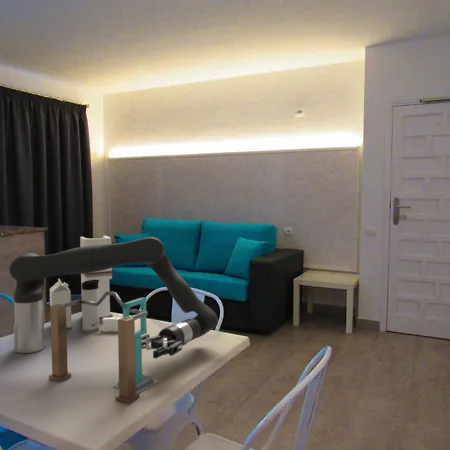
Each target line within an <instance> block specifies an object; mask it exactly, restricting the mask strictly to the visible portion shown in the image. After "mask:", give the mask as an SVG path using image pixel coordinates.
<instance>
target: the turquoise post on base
mask: <svg viewBox="0 0 450 450" xmlns="http://www.w3.org/2000/svg"><path fill="white" fill-rule="evenodd" d="M123 303H124V304H123V308H122V318H123V317H130V312H129V308H130V309H131V308H133V307H134V306H138V305H139V307H140V308H139V310H141V311H147V297H145V296H144V297H143V296H142V297H139V298H136V299H133V300H129V301H128V302H123ZM139 319H140V329H138V330H135V382H136V390H137V391H138V390H140V389H141V388H143V387H145V386H146V385H148V384H150V383H151V382H153V381H154V380H155V379H154V377H152V376H148V375H143V363H142V362H143V357H142V356H143V355H142V354H143V353H142V351H143V349H142V340H141V337H142V336H144V335H147V332H148V331H147V328H148V327H147V316H144V317H142V318H139ZM117 383H118V385H119V381H118V382H117Z"/></svg>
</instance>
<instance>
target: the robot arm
mask: <svg viewBox="0 0 450 450" xmlns="http://www.w3.org/2000/svg"><path fill="white" fill-rule="evenodd" d="M136 263H137V264H139V263H141V264H142V263H145V264H146V265H147V266H148V267H150V269H151V270H153V272H154V273H155V274H156V275H157V276H158V278H159V279H160V280H161V281H162V283H163V284H164V286H165V287H166V290H167V291H168V292H169V294H170V296H171V297H172V298H173V300H174V301H175V303H176V304H177V306H178V307H179V309H180V310H181V311H182V312H183V313H185V314H188V313H192V312H193V313H195V314H196V315H195V316H194V317H192V318H187V319H184V320H183V321H180V322H179V321H178V322H176V323H173V324H171V325H168V326H167V327H164V328H162V329H161V330H160V331H159V333H158V334H157V335H154V336H151V335H150V334H147V333H146V334H144V335H141V340H142V350H146V351H149V350H151V351H152V350H153V352H152V358H153V359H156V360H157V359H158V358H160V357H162V356H167V355H168V356H171V357H172V356H175V355H176V354H178V353H180V351H182V350H183V347H184V346H186V345H187V344H188V343H190V342H192V341H193V340H195V339H198V338H201V337H202V336H204V335H205V334H208V333H209V332H210V331H212V330H213V329H215V328H216V327H217V326H218V324H219V318H218V315H217V314H216V312H215V311H214V310H213V309H212V308H211V307H210V306H208V305H207V304H206V303H205V302H203V301H202V300H201V299H200V298H199V297H198V296H197V295H196V293H195V292H194V290H193V289H192V288H191V287H190V285H189V284H188V282H186V280H185V279H184V278H183V276H181V275H180V273H178V271H177V270H176V269H175V267H174V265H173V264H172V263H171V261H170V260H169V258H168V256H167V254H166V251H165V247H164V244H163V242H162V241H161V240H160V239H159V238H158V237H153V236H148V237H144V238H140V239H136V240H131V241H127V242H120V243H111V244H101V245H91V246H83V247H80V246H78V247H75V248H70V249H67V250H63V251H59V252H57V253H52V254H45V255H44V254H43V255H39V254H37V253H34V252H26V253H23V254H21V255H19V256H17V257H16V258H14V259H13V261H12V262H11V263H10V265H9V271H8V272H9V274H10V276H11V278H13V280H15V281H16V283H15V284H16V285H15V290H14V293H13V304H14V305H13V306H14V307H13V309H14V324H13V343H14V344H13V348H14V353H16V354H17V353H20V354H31V353H36V352H40V351H42V350H44V349H45V348H46V347H45V346H46V344H45V341H46V340H45V313H44V312H45V311H44V309H45V308H44V291H45V279H47V278H49V277H55V276H68V275H70V276H71V275H79V274H80V275H81V273H90V272H96V271H102V270H106V269H109V268H112V269H113V268H115V267H119V266H122V265H125V264H126V265H127V264H136Z"/></svg>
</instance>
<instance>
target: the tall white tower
mask: <svg viewBox="0 0 450 450" xmlns="http://www.w3.org/2000/svg"><path fill="white" fill-rule="evenodd" d="M79 239H80V240H79V242H80V246H79V247H83V246H91V245H101V244H112V237H110V236H107V235H103V236H102V237H100V238H89V237H88V238H87V237H84V236H80V237H79ZM80 279H81V280H80V281H81V286H80V287H81V288H82V283H83V282H85V281H89V280H99V282H98V290H99V299H100V298H101V297H102V296H103V295H104V293H105V292H106V291H110V280H112V279H113V268H109V269H106V270H102V271H96V272H90V273H81V274H80ZM110 296H111V295H107V296H106V298H105V299H104V300H103V301H102V302H101V304H100V305H99V323H101V322H102V323H103V318H109V317H114V316H113V314H112V313H111V301H110V299H111V298H110Z"/></svg>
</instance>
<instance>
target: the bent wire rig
mask: <svg viewBox="0 0 450 450" xmlns="http://www.w3.org/2000/svg"><path fill="white" fill-rule="evenodd" d="M107 295H110V296H113V297H114V298H115V299H116V302H117V303H118V304H119V306H120V307H121V309H123V304H124V303H125V302H123V301H122V299H121V298H120V296H119V295H118V293H117V292H114V291H111V290H109V291H106V292H105V293H104V295H103V296H102V297H101V298H100V299H99V301H98V302H97V303H96V302H90V301H84V300H82V299H76V300H71V302H68V303H64V304H57V305H53V306H50V305H49V311H50V341H51V342H50V344H51V374H49V375H48V380H49V381H53V382H55V383H59V384H60V383H62V382H64V381H66V380H68V379H70V378H72V372H68V371H69V370H68V369H69V368H68V345H67V344H68V339H67V336H68V335H67V328H66V307H69V306H71V307H72V306H75V305H79V304H81V305H82V304H87V305H93V306H99V305H100V304H101V302H102V301H103V300H104V299H105V298H106V296H107ZM129 313H132V315H129V317H123V316H122V317H119V318H120V319H118V332H117V343H118V346H117V347H118V348H117V349H118V382H119V388H118V394H117V395H115V397H114V398H115V401H116V402H119V403H123V404H125V405H130V404H132V403H133V402H135V401H137V400H138V399H140V398H141V397H140V393H137V392H136V382H135V332H136V330H135V329H136V328H135V327H136V326H135V325H136V324H135V321H136V320H138V319H140V318H142V317H144V316H146V317H147V316H148V314H149V313H148V311H147V310H146V311H141V310H140V309H136V308H131V307H130V308H129ZM133 314H134V315H133Z"/></svg>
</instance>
